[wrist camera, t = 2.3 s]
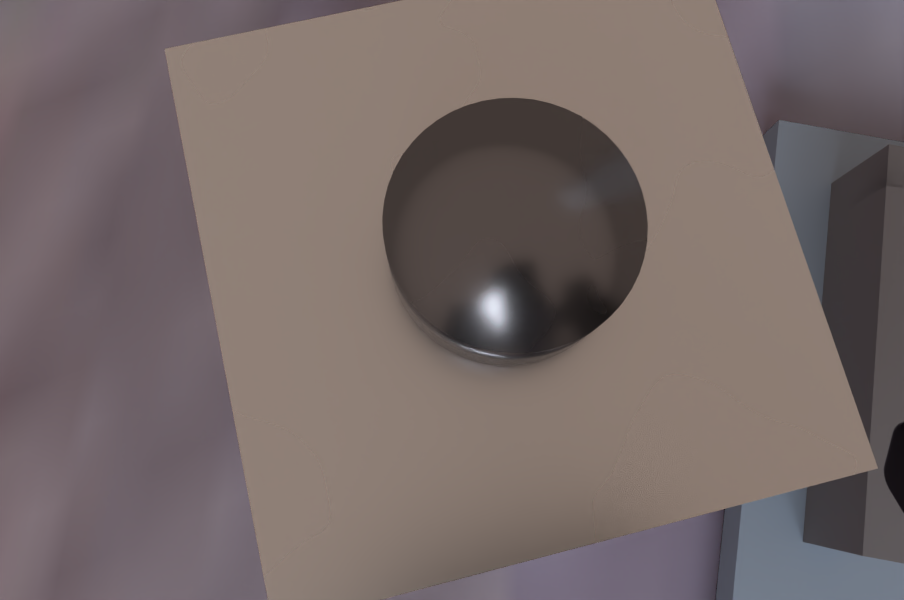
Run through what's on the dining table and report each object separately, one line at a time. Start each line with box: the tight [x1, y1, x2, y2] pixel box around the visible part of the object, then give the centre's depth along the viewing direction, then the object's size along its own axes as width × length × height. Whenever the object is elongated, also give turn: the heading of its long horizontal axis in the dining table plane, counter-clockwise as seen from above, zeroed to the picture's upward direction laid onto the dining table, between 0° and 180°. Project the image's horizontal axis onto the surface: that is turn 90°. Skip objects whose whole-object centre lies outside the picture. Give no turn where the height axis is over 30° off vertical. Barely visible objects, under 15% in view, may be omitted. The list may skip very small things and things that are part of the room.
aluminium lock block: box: [165, 0, 878, 600], centre depth 12 cm, size 5×5×14 cm
